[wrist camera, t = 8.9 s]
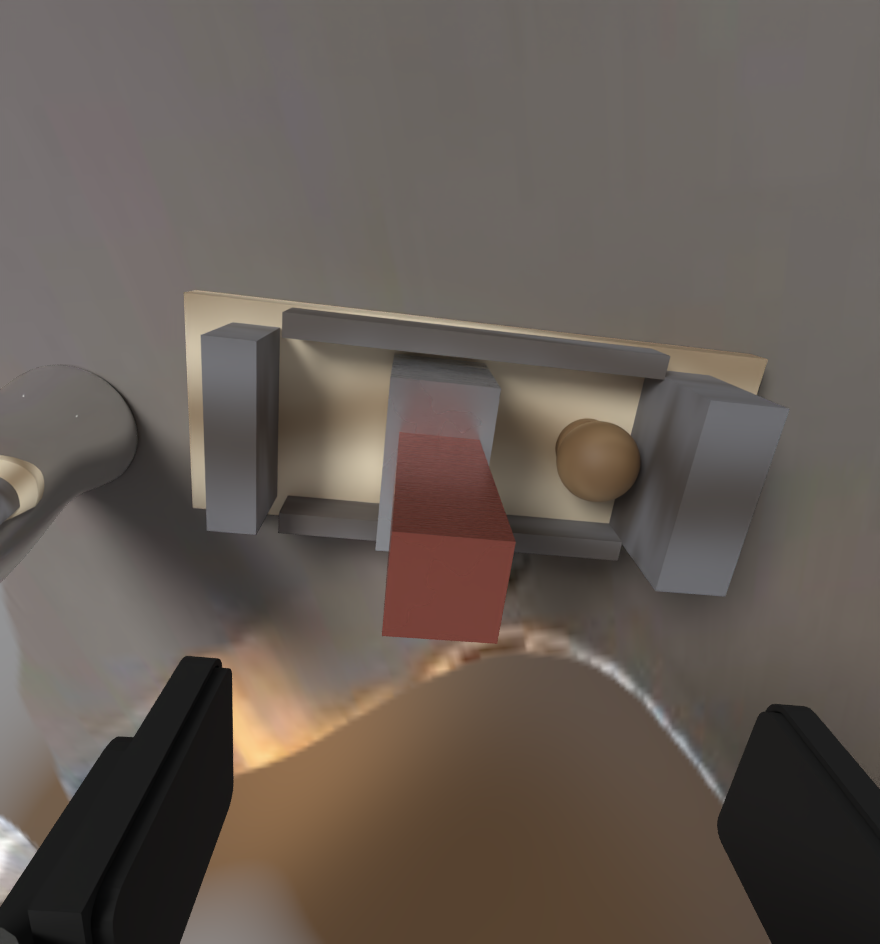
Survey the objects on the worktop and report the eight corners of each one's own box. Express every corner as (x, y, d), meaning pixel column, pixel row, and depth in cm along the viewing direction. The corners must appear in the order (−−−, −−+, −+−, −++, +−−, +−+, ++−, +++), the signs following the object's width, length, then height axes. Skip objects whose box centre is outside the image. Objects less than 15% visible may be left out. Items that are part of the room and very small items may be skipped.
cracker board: (693, 537, 31) (774, 621, 24) (203, 495, 29) (136, 573, 22) (749, 354, 28) (864, 389, 21) (196, 290, 25) (114, 305, 18)
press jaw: (464, 506, 28) (504, 704, 16) (381, 499, 27) (357, 696, 15) (484, 363, 25) (551, 466, 13) (394, 353, 25) (377, 450, 13)
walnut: (612, 484, 28) (642, 519, 24) (540, 477, 28) (560, 511, 24) (629, 414, 27) (663, 439, 23) (554, 406, 27) (577, 431, 23)
